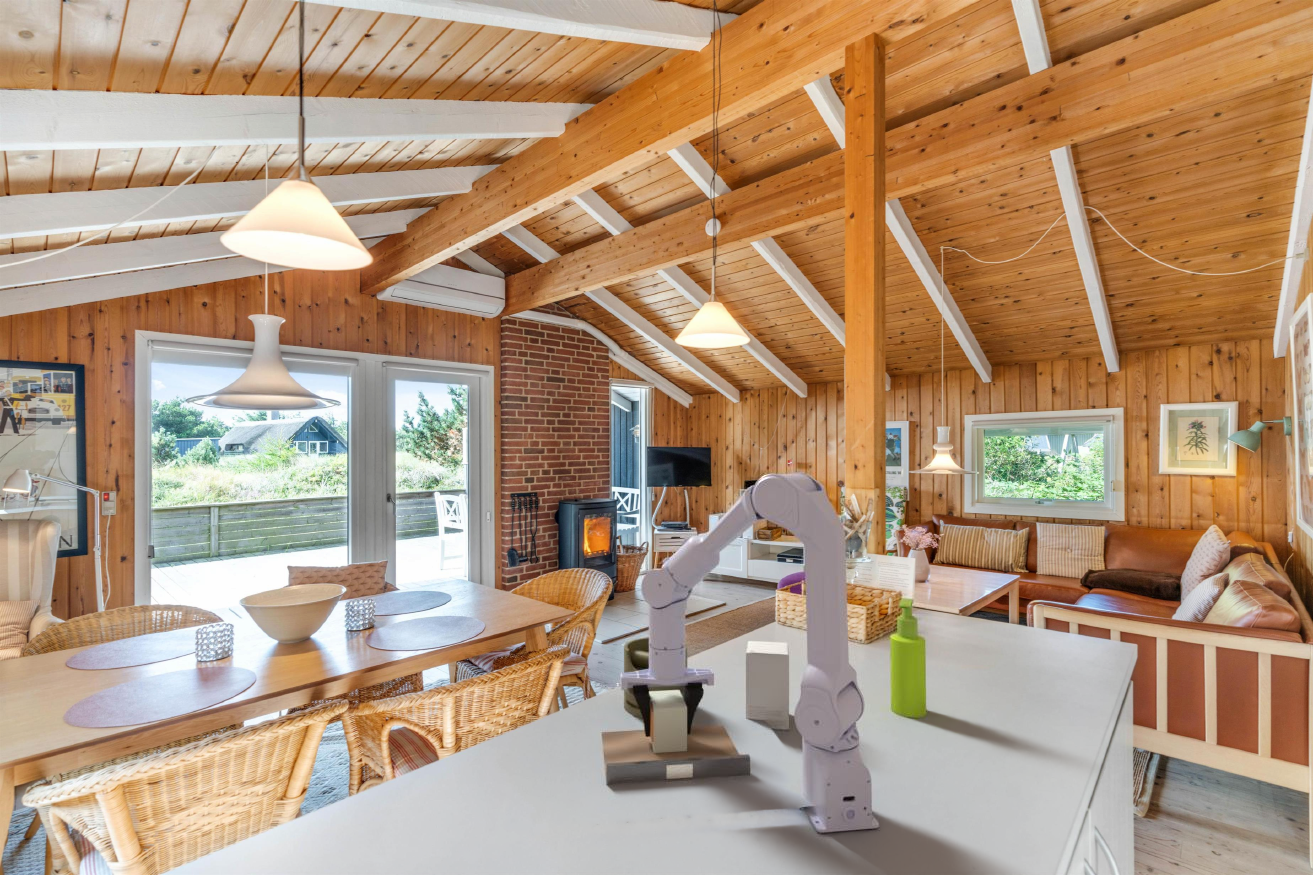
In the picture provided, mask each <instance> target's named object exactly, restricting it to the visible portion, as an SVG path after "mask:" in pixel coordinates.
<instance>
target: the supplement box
mask: <svg viewBox="0 0 1313 875" xmlns="http://www.w3.org/2000/svg"><path fill="white" fill-rule="evenodd" d="M746 644H747V645H746V652H745V719H748V720H761V721H765V722H766V723H767V725H768V726H769V727H770V729H771V728H773V729H772V730H780V729H783V730H782V731H788V730H789V729H790V652H789V643H788V642H782V641H781V642H779V641H760V640H759V641H758V640H757V641H756V640H755V641H754V640H748V641H747V643H746Z"/></svg>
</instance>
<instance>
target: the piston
mask: <svg viewBox="0 0 1313 875" xmlns="http://www.w3.org/2000/svg"><path fill="white" fill-rule="evenodd" d="M685 668H688V644H687V643H686V642H685ZM646 669H649V636H647V637H640V638H635V639H632V640H630V641H627V642H625V644H624V645H623V673H628V672H635V671H640V670H646ZM648 689H649V691H667V690H680V693H681V695H682V697H683V699H684V692H683V685H679V686H659V687H648ZM623 708H624V711H625V712H627V713H628V714H629V715H631V716H633V717H637V718H641V719H643V718H642V714H641V712H640V709H639V707H638V704H637V702H636V700H635V697H634V694H633V690H632V688H628V689H627V690H623Z"/></svg>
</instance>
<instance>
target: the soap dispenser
mask: <svg viewBox="0 0 1313 875" xmlns="http://www.w3.org/2000/svg"><path fill="white" fill-rule="evenodd" d="M913 604H914V598H905V597H902V598H901V599H900V601H899V605H898V608H900V609H901V610H902V611H901V612H902V613H901V614H900V615H899V616H897V621H896V622H897V623H896V624H897V625H896V626H897V627H896V628H897V631H896V633H891V635H890V639H889V642H890V643H889V644H890V648H889V649H890V650H889V651H890V652H889V654H890V657H889V658H890V661H889V662H890V710H891V711H892V712H893V713H894V714H896V715H898V716H901V717H905V718H912V719H913V718H917V719H918V718H923V717H925V716H926V715H927V679H926V677H927V676H926V675H927V674H926V672H927V671H926V669H927V667H926V663H927V662H926V638H925V637H923V636H921V635H919V634H918V633H919V631H918V630H919V628H918V625H919V624H918V618H917V617H915V616H914V615H913Z"/></svg>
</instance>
